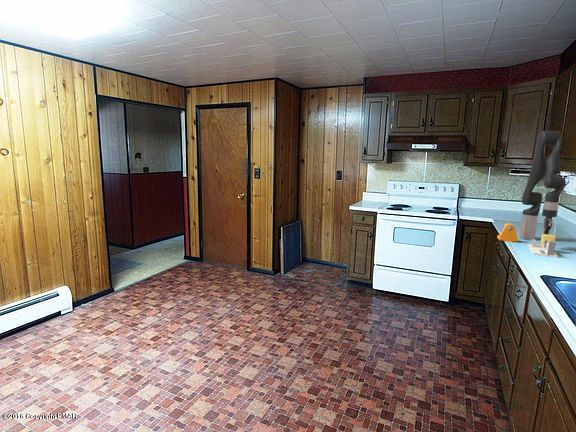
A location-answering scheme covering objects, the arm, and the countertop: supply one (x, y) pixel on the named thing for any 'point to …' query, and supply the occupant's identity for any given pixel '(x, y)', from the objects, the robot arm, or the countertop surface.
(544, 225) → the robot arm
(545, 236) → the yellow block
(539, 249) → the rail plate
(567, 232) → the countertop surface
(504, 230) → the bracket
